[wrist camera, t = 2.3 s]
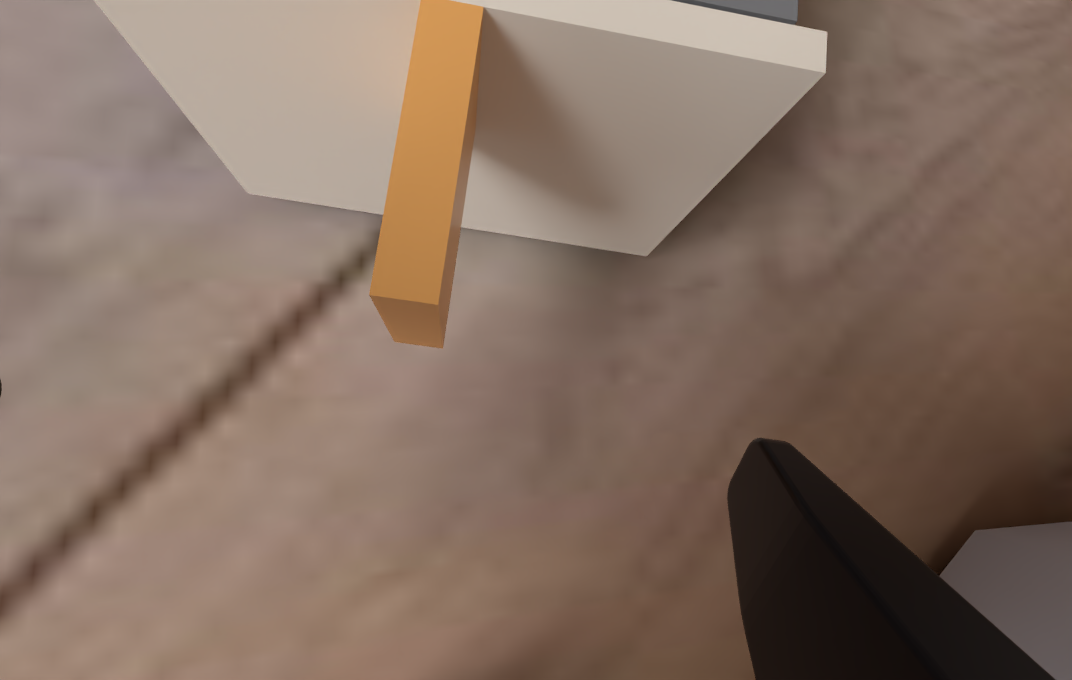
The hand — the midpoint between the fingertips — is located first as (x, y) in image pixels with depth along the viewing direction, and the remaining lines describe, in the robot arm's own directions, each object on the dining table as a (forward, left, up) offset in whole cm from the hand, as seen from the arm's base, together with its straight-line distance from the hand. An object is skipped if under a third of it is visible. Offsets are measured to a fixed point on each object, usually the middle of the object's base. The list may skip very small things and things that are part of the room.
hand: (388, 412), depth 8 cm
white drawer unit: (+7, -7, -12) cm, 15 cm away
